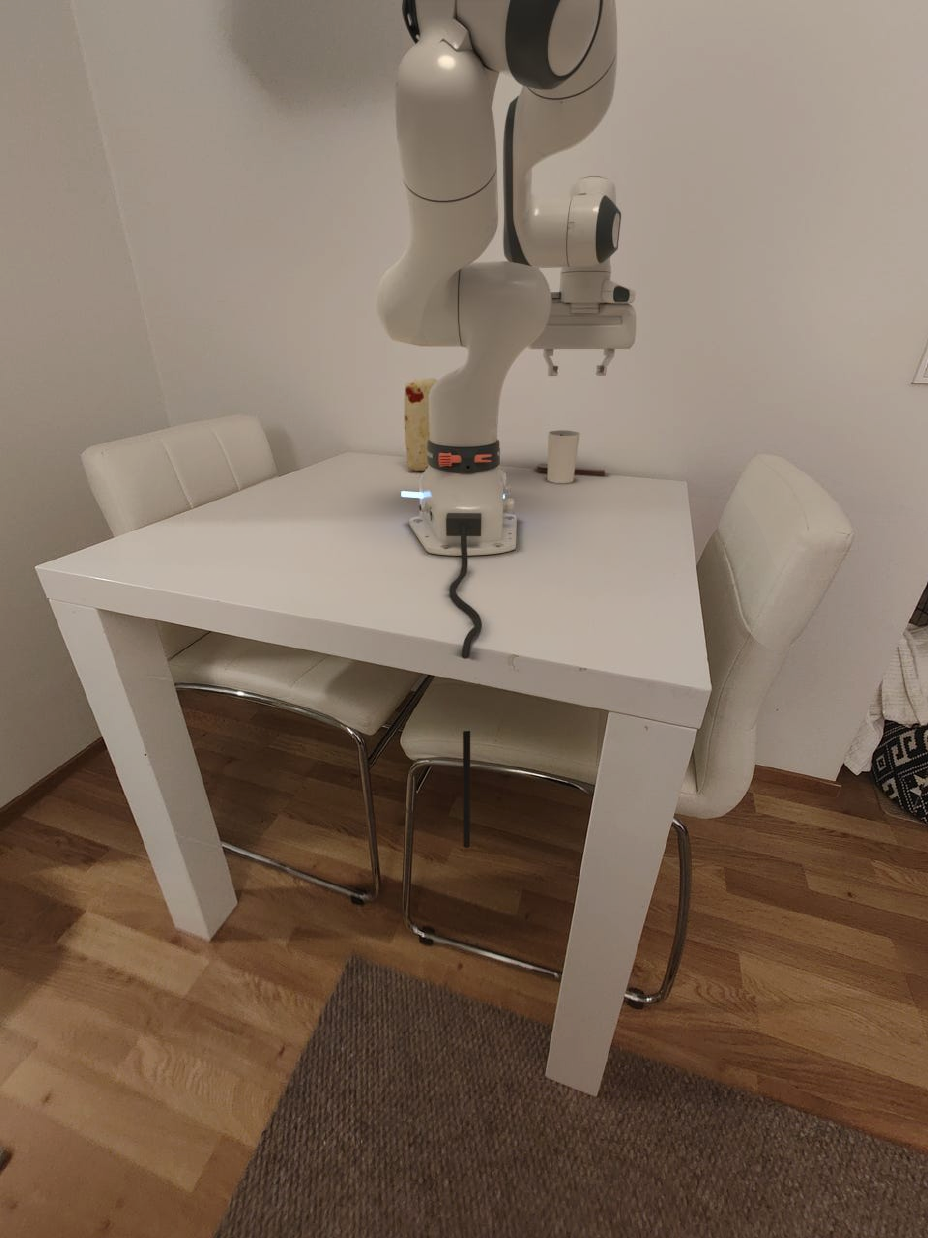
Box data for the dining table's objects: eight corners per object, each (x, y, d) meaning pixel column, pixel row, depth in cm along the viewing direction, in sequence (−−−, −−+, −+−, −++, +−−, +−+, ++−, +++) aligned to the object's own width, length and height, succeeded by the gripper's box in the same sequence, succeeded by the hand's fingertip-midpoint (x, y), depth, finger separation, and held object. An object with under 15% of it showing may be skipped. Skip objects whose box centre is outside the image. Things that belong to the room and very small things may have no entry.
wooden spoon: (605, 472, 131) (606, 467, 131) (603, 477, 128) (604, 472, 127) (538, 467, 136) (539, 462, 135) (534, 472, 132) (535, 466, 132)
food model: (413, 475, 130) (409, 380, 120) (401, 469, 135) (396, 378, 125) (451, 470, 134) (450, 378, 124) (438, 464, 139) (436, 376, 130)
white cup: (539, 479, 126) (542, 433, 121) (556, 474, 130) (560, 429, 125) (564, 485, 122) (568, 437, 117) (581, 479, 126) (585, 432, 121)
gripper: (530, 290, 99) (526, 377, 105) (644, 291, 100) (633, 376, 107) (523, 292, 104) (520, 374, 111) (631, 293, 106) (622, 374, 112)
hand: (576, 375), depth 109 cm, fingers open, 8 cm apart
